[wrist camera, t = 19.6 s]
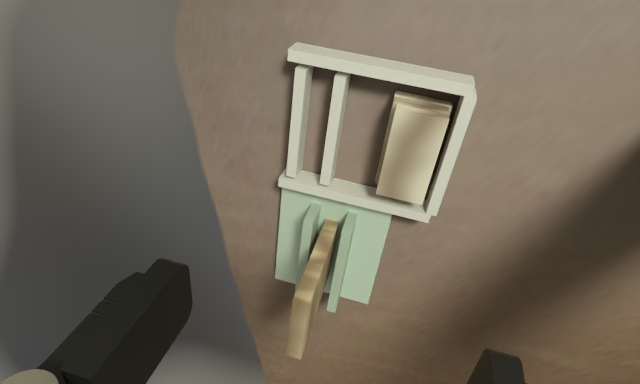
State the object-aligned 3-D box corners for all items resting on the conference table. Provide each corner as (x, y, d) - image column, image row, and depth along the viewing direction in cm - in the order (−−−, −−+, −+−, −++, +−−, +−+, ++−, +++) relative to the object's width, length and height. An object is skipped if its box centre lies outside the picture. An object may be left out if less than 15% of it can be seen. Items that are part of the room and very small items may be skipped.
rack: (479, 77, 35) (481, 86, 33) (433, 210, 43) (433, 224, 41) (296, 42, 37) (288, 49, 35) (285, 174, 45) (278, 186, 43)
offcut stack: (452, 101, 36) (452, 117, 34) (425, 186, 42) (424, 206, 39) (395, 90, 37) (391, 104, 34) (376, 175, 42) (371, 193, 39)
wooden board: (339, 222, 45) (309, 304, 36) (329, 274, 50) (300, 359, 40) (325, 218, 46) (292, 299, 36) (317, 270, 50) (285, 354, 40)
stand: (393, 208, 44) (388, 234, 40) (369, 298, 52) (363, 326, 48) (285, 182, 46) (270, 204, 42) (277, 273, 53) (264, 298, 50)
